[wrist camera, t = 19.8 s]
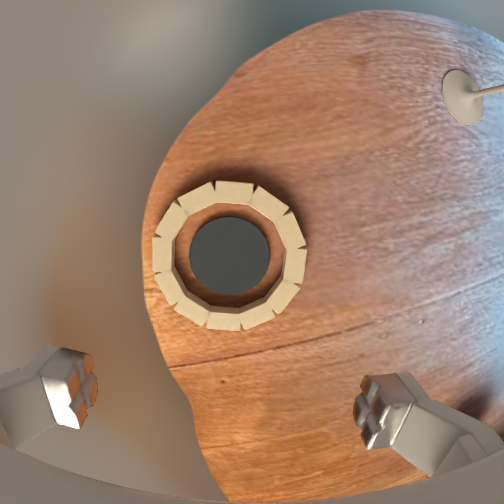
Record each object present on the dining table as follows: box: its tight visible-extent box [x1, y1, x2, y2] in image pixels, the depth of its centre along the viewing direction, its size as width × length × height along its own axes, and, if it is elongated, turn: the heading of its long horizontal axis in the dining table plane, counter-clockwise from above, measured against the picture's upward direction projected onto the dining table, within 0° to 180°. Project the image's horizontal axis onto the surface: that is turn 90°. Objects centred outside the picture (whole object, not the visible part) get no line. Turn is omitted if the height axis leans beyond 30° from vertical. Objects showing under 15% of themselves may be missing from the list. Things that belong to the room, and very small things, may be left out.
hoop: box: [152, 180, 307, 331], centre depth 31 cm, size 15×15×2 cm
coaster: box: [189, 216, 270, 295], centre depth 32 cm, size 8×8×1 cm
